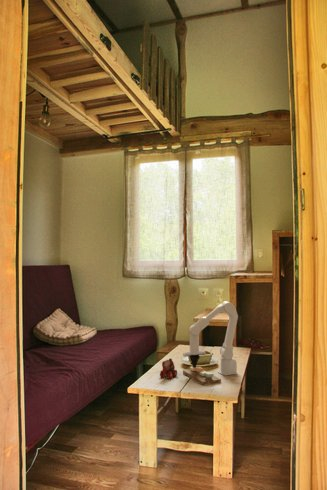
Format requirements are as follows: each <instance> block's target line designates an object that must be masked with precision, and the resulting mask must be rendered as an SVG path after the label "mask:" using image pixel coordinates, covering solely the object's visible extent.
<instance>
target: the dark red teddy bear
mask: <svg viewBox="0 0 327 490" xmlns="http://www.w3.org/2000/svg"><path fill="white" fill-rule="evenodd" d="M161 366H162V370H160V371H159V376H160V378H165V377H166V378H167V379H168V380H172V379H173V378H176V377H177V375H178V370H177V369H175V368H176V367H175V363H174V361H173V359H172V358H171V357H170V358H169V359H166V360H164V361H162V362H161Z"/></svg>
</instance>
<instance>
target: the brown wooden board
mask: <svg viewBox="0 0 327 490" xmlns="http://www.w3.org/2000/svg"><path fill="white" fill-rule="evenodd" d="M203 371H206V370H205V369H203ZM206 372H208V371H206ZM182 374H183V375H184V376H186V375H187V376H186V377H188V378H190V379H192V380H193V381H195V382H197V383H198V384H200V385H201V386H206V385H213V384H221V383H222V379H221V378H220V377H218V376H216V375H214V374H213V377H212V379H211V380H207V379H206V377H202V376H201V375H199V374H196V371H194V372H193V371H192V370H190V368H189V369H183V370H182Z"/></svg>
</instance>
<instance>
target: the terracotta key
mask: <svg viewBox="0 0 327 490" xmlns="http://www.w3.org/2000/svg"><path fill="white" fill-rule="evenodd" d="M203 370H204V368H203V367H201V366H196V367H195V371H196V374H199V372H202V371H203Z"/></svg>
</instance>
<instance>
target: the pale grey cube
mask: <svg viewBox="0 0 327 490" xmlns="http://www.w3.org/2000/svg"><path fill="white" fill-rule="evenodd" d="M213 375H214V373H212V372H211V371H207V372H206V373H204V376H206V379H207V380H211V379H212V377H213Z"/></svg>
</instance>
